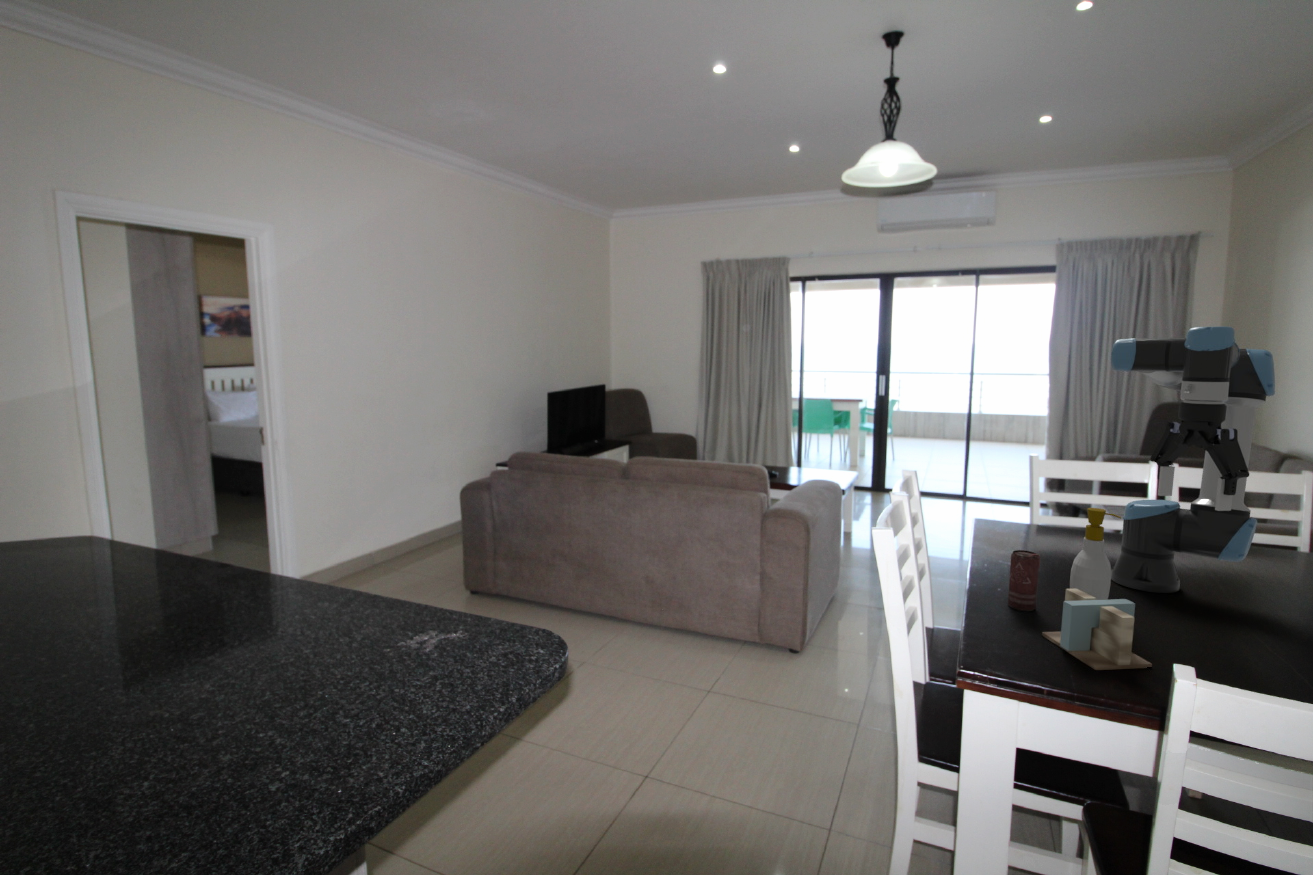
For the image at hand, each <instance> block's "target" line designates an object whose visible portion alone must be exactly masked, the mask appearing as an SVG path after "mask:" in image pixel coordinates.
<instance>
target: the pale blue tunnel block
mask: <svg viewBox="0 0 1313 875" xmlns="http://www.w3.org/2000/svg"><path fill="white" fill-rule="evenodd" d="M1062 604H1063V605H1062V616H1061V626H1060V627H1061V629H1060V631H1061V639H1060V646H1061V647H1063V648H1064V649H1066V650H1067V651H1082V650H1090V640H1091V629H1092V628H1096V627H1099V621H1100V610H1101V607H1105V606H1113V607H1115V608H1117V609H1119V610H1121V611H1123V612H1125V613H1127V614H1129V615H1131V616H1133V617H1135V612H1136V610H1135V608H1136V603H1134V602H1133V601H1131V600H1129V599H1126V598H1119V599H1117V598H1115V599H1114V598H1113V599H1107V600H1080V601H1065V600H1063V603H1062ZM1061 647H1060V648H1061ZM1064 649H1063V650H1064ZM1067 651H1066V652H1067Z"/></svg>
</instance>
